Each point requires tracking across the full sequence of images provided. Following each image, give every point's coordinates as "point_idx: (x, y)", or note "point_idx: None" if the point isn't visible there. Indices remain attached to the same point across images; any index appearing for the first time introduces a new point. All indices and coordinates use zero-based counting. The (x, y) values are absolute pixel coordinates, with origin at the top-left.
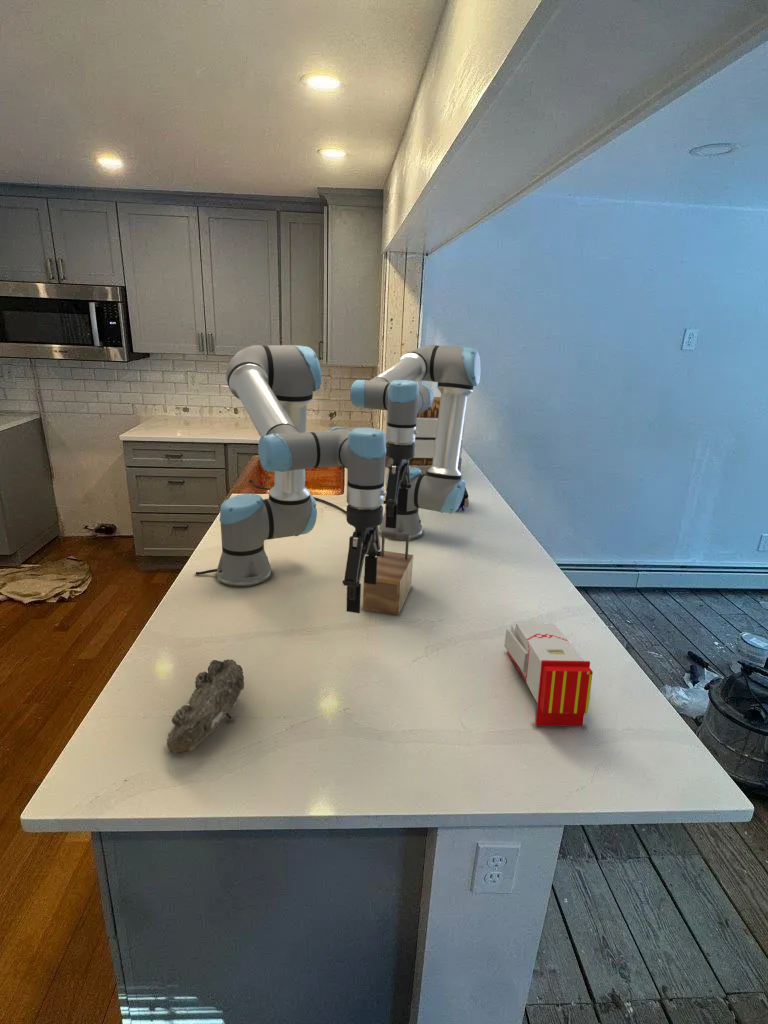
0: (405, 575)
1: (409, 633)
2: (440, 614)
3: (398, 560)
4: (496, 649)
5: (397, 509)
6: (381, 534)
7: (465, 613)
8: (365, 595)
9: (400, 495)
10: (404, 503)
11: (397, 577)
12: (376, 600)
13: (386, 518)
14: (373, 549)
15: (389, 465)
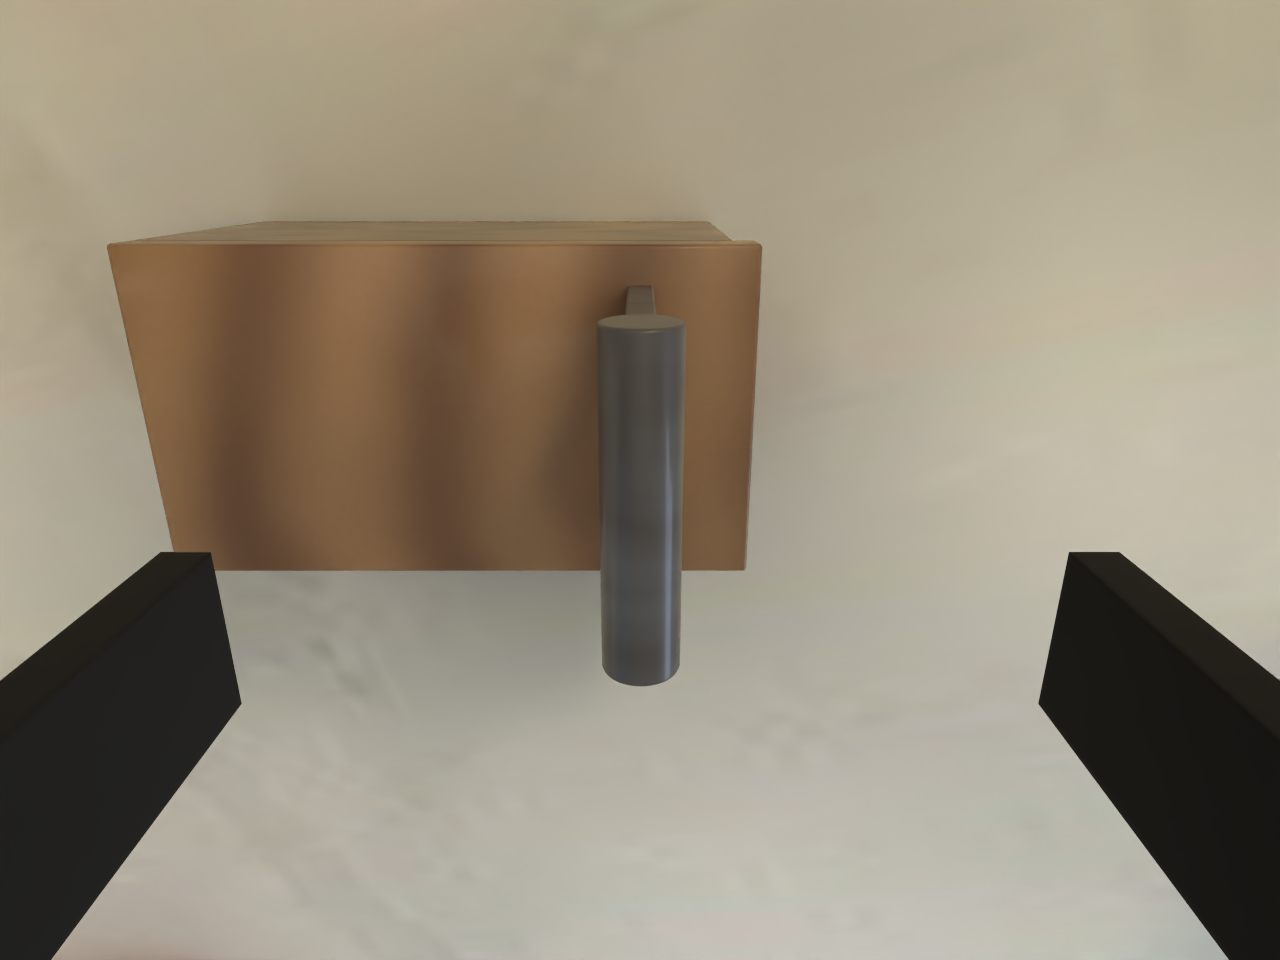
0: None
1: (142, 560)
2: (420, 676)
3: (574, 472)
4: (218, 923)
5: (1082, 570)
6: (596, 329)
7: (486, 786)
8: None
9: (1278, 818)
10: (1132, 770)
11: (234, 536)
12: None
13: (57, 650)
14: None
15: None
